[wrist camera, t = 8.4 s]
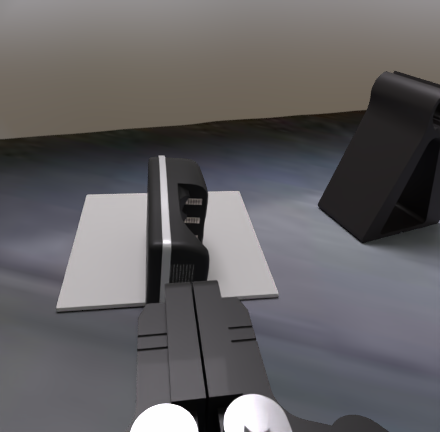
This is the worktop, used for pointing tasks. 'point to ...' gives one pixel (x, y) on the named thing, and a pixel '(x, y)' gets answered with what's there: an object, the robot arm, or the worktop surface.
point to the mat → (136, 253)
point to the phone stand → (390, 162)
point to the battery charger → (174, 225)
